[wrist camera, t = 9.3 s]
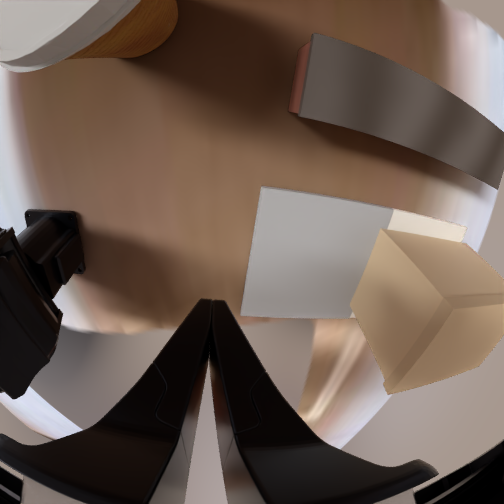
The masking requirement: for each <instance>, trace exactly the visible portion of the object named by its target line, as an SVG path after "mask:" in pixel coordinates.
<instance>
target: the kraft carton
mask: <svg viewBox="0 0 504 504" xmlns="http://www.w3.org/2000/svg"><path fill="white" fill-rule="evenodd" d="M350 307H351V309H352V311H353V313H354V315H355V317H356V319H357V321H358V323H359V325H360V327H361V329H362V331H363V333H364V335H365V337H366V339H367V341H368V344H369V346H370V348H371V350H372V352H373V354H374V356H375V359H376V361H377V363H378V365H379V367H380V370H381V372H382V374H383V376H384V379H385V382H384V383H383V385H384V387H385V390H386V392H387V394H388V395H389V394H394V393H398V392H402V391H406V390H410V389H413V388H417V387H420V386H424V385H427V384H431V383H434V382H437V381H440V380H443V379H446V378H449V377H452V376H455V375H458V374H460V373H463V372H466V371H468V370H471V369H473V368H476V367H478V366H479V365H480V364H481V363H482V362H483V360H485V358H486V357H487V356H488V355H489V353H490V352H491V351H492V350H493V348H494V347H495V346H496V344H497V343H498V342H499V341H500V339H501V338H502V337H503V335H504V279H503V278H502V277H501V276H500V275H499V274H498V273H497V272H496V271H495V270H494V269H493V268H492V267H491V266H490V265H489V264H488V263H487V262H486V261H485V260H484V259H483V258H482V257H481V256H480V255H478V254H477V253H476V252H475V251H474V250H473V249H472V248H471V247H470V246H468V245H467V244H465V243H461V242H456V241H450V240H445V239H440V238H435V237H429V236H424V235H418V234H412V233H407V232H401V231H395V230H389V229H382V228H380V231H379V234H378V236H377V239H376V242H375V245H374V247H373V250H372V252H371V255H370V258H369V260H368V263H367V265H366V268H365V270H364V272H363V275H362V277H361V280H360V282H359V284H358V287H357V289H356V291H355V294H354V296H353V298H352V300H351V302H350Z"/></svg>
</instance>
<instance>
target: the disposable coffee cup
mask: <svg viewBox="0 0 504 504" xmlns="http://www.w3.org/2000/svg"><path fill="white" fill-rule="evenodd" d="M177 20H178V7H177V2H176V0H0V65H1V66H2V67H3V68H5V69H7V70H9V71H15V72H29V71H34V70H39V69H42V68H45V67H48V66H50V65H53V64H56V63H57V62H59V61H61V60H63V59H65V60H66V59H76V58H134V57H138V56H141V55H144V54H147V53H149V52H151V51H152V50H154V49H156V48H157V47H159V46H160V45H161V44H162V43H163V42H164V41H165V40H167V38H168V37H169V36H170V34H171V33H172V32H173V30H174V28H175V26H176V23H177Z"/></svg>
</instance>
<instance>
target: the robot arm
mask: <svg viewBox="0 0 504 504" xmlns="http://www.w3.org/2000/svg"><path fill="white" fill-rule="evenodd" d="M29 215H30V216H29ZM70 216H71V217H72V219H71V218H70ZM25 220H26V224H27V228H26V229H25V230H23V231H22V232H21V233H20V234H19V235H18V236H17V237H16V236H15V234H14V233H15V231H14V229H13V227H11V228H9V229H7V230H6V229H2V228H0V393H2V392H5V393H6V394H7V395H9V396H10V397H11V398H12V399H17V398H18V397H20V396H22V395H24V394H25V392H26V390H27V388H28V387H29V385H30V383H31V381H32V380H33V378H34V377H35V375H36V374H37V373H38V372H39V371H40V370H41V369H42V368H43V367H44V366H45V365H46V364H48V363H49V361H50V358H51V357H52V355H53V354H54V352H55V349H56V346H57V342H58V335H59V330H60V326H61V321H62V317H63V313H62V312H61V310H60V309H58V308H57V306H56V305H55V303H54V302H53V300H52V299H53V298H54V297H55V295H56V294H57V292H58V291H59V289H60V288H61V286H62V285H66V284H67V282H68V281H69V279H70V278H71V276H72V275H73V273H76V274H83V273H84V272H85V264H84V255H83V250H82V245H81V239H80V235H79V231H78V225H77V217H76V214H75V213H74V212H73V211H61V210H34V209H29V210H27V211H26V212H25ZM80 268H81V269H80ZM212 303H213V305H212ZM209 349H210V350H209ZM208 361H209V365H210V377H211V386H212V396H213V405H214V414H215V422H216V430H217V438H218V445H219V452H220V458H221V465H222V470H223V478H224V484H225V489H226V496H227V501H228V504H504V439H503V440H502V441H501V442H499V443H498V444H496V445H495V446H494V447H492V448H491V449H489V450H488V451H486V452H485V453H483V454H482V455H480V456H479V457H477V458H476V459H474V460H472V461H471V462H469V463H467V464H466V465H464V466H462V467H460V468H459V469H457V470H455V471H453V472H452V473H450V474H448V475H446V476H444V477H442V478H440V479H439V480H437V481H435V482H433V483H431V484H429V485H427V486H425V487H423V488H421V489H420V490H417V491H415V492H414V491H413V487H416V486H418V485H420V484H422V483H424V482H426V481H428V480H430V479H431V478H433V477H435V476H437V475H438V474H439V473H438V471H437V470H436V469H435V468H434V467H433V466H431V465H430V464H428V463H426V462H424V461H422V460H420V459H417V460H413V461H411V462H408V463H405V464H403V465H400V466H396V467H385V466H380V465H377V464H374V463H371V462H369V461H366V460H363V459H361V458H358V457H356V456H354V455H351V454H349V453H346V452H344V451H342V450H340V449H338V448H335V447H333V446H331V445H329V444H328V443H326V442H324V441H323V440H322V439H320V438H319V437H318V436H317V435H316V434H315V433H314V432H313V431H312V430H311V429H310V428H309V426H308V425H307V424H306V423H305V422H304V421H303V420H302V418H301V417H300V416H299V415H298V414H297V413H296V412H295V410H294V409H293V408H292V407H291V406H290V405H289V403H288V402H287V401H286V400H285V398H284V397H283V396H282V394H281V393H280V392H279V390H278V389H277V387H276V386H275V384H274V383H273V381H272V380H271V378H270V377H269V375H268V373H267V372H266V370H265V369H264V367H263V365H262V363H261V362H260V360H259V358H258V357H257V355H256V353H255V352H254V350H253V348H252V347H251V345H250V343H249V341H248V340H247V338H246V336H245V335H244V333H243V331H242V329H241V328H240V326H239V324H238V322H237V321H236V319H235V317H234V315H233V314H232V312H231V310H230V308H229V306H228V305H227V303H226V301H224V300H216V299H215V300H213V301H212V299H204V298H201V299H200V300H199V301H198V302H197V304H196V305H195V306H194V308H193V309H192V310H191V312H190V313H189V314H188V316H187V317H186V318H185V319H184V321H183V322H182V323H181V325H180V326H179V327H178V329H177V330H176V331H175V333H174V334H173V335H172V337H171V338H170V340H169V341H168V342H167V343H166V345H165V346H164V348H163V349H162V350H161V352H160V353H159V354H158V356H157V357H156V358H155V360H154V361H153V363H152V364H151V365H150V366H149V368H148V369H147V370H146V372H145V373H144V374H143V375H142V377H141V378H140V379H139V380H138V382H137V383H136V384H135V385H134V386H133V387H132V388H131V389H130V390H129V391H128V392H127V394H126V395H125V396H124V397H123V398H122V399H121V400H120V401H119V402H118V403H117V404H116V405H115V406H114V407H113V408H112V409H111V410H110V411H109V412H108V413H107V414H106V415H105V416H104V417H103V418H102V419H101V420H100V421H98V422H97V423H96V424H94V425H93V426H91V427H90V428H88V429H85V430H83V431H80V432H77V433H74V434H72V435H69V436H66V437H63V438H60V439H57V440H54V441H51V442H48V443H44V444H40V445H32V446H31V445H24V444H21V443H18V442H17V441H15V440H13V439H12V438H10V437H8V436H6V435H4V434H0V461H1V462H3V463H4V464H6V465H7V466H9V467H11V468H12V469H14V470H16V471H17V472H19V473H21V474H23V475H24V477H23V480H22V479H20V478H19V477H17V476H15V475H14V474H12V473H10V472H9V471H7V470H5V469H4V468H2V467H1V466H0V504H184V502H185V495H186V489H187V482H188V476H189V468H190V463H191V456H192V451H193V445H194V439H195V433H196V428H197V422H198V416H199V410H200V405H201V400H202V394H203V389H204V383H205V378H206V373H207V367H208Z"/></svg>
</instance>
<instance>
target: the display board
mask: <svg viewBox="0 0 504 504" xmlns="http://www.w3.org/2000/svg"><path fill="white" fill-rule="evenodd" d="M380 228H382V229H389V230H395V231H401V232H407V233H412V234H418V235H424V236H429V237H435V238H440V239H445V240H450V241H456V242H462V239H463V237H464V235H465V232H466V230H467V227H466V226H463V225H459V224H455V223H452V222H448V221H444V220H441V219H437V218H433V217H429V216H425V215H421V214H417V213H412V212H408V211H404V210H399V209H395V208H390V207H386V206H381V205H376V204H371V203H366V202H361V201H356V200H351V199H345V198H340V197H334V196H328V195H322V194H316V193H310V192H303V191H297V190H290V189H283V188H275V187H268V186H261V191H260V197H259V203H258V209H257V215H256V221H255V227H254V233H253V239H252V245H251V251H250V257H249V263H248V269H247V275H246V281H245V287H244V293H243V299H242V305H241V311H240V315H241V316H254V317H276V318H318V319H349V318H356V317H355V315H354V313H353V311H352V309H351V307H350V302H351V300H352V298H353V296H354V294H355V291H356V289H357V287H358V284H359V282H360V280H361V277H362V275H363V272H364V270H365V268H366V265H367V263H368V260H369V258H370V255H371V252H372V250H373V247H374V245H375V242H376V239H377V236H378V234H379V231H380Z"/></svg>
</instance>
